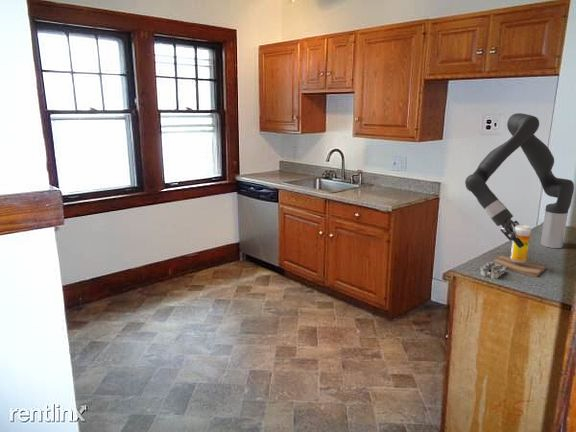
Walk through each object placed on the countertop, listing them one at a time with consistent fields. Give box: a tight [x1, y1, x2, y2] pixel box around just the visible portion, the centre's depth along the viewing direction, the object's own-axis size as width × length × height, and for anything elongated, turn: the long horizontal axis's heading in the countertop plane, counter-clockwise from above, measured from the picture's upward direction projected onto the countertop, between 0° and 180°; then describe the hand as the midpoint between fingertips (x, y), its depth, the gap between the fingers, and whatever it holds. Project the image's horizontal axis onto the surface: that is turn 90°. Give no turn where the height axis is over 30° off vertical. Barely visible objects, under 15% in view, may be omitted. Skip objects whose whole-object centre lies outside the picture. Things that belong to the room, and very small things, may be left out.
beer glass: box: [509, 224, 532, 262], centre depth 173 cm, size 6×6×15 cm
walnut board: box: [491, 255, 547, 278], centre depth 175 cm, size 13×18×2 cm
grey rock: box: [479, 260, 506, 280], centre depth 169 cm, size 11×8×4 cm
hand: (524, 244), depth 172 cm, fingers closed on beer glass, 6 cm apart
